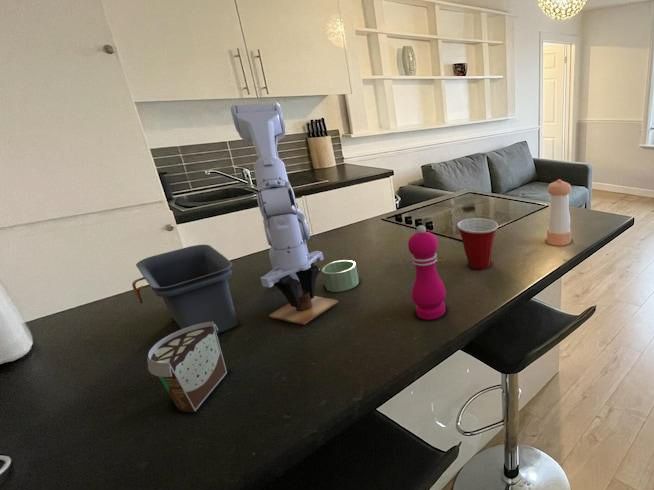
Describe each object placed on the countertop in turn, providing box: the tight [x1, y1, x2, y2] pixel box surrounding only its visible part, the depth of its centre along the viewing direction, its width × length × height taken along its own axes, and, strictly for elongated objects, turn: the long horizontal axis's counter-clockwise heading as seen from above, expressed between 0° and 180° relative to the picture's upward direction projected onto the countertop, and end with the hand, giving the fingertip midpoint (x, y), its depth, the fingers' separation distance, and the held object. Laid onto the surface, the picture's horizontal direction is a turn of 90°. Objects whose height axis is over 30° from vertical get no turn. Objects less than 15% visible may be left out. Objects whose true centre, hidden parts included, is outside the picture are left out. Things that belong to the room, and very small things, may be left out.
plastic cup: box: [456, 217, 499, 270], centre depth 109 cm, size 11×11×12 cm
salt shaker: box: [546, 178, 573, 246], centre depth 121 cm, size 7×7×19 cm
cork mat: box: [268, 289, 339, 326], centre depth 90 cm, size 10×10×4 cm
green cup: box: [321, 259, 360, 293], centre depth 103 cm, size 8×8×5 cm
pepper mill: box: [407, 224, 447, 321], centre depth 85 cm, size 7×7×20 cm
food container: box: [146, 322, 228, 413], centre depth 66 cm, size 12×6×10 cm, turn 5°
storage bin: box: [131, 244, 238, 335], centre depth 86 cm, size 21×16×14 cm
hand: (302, 301), depth 90 cm, fingers closed on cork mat, 3 cm apart
